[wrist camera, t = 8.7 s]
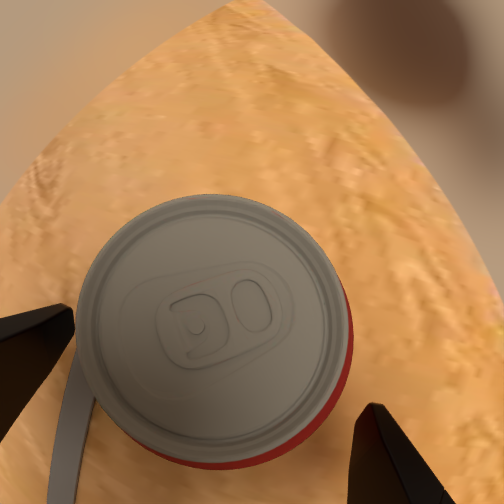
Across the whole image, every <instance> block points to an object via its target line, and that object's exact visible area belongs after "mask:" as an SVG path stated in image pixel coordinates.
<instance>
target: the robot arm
mask: <svg viewBox="0 0 504 504" xmlns="http://www.w3.org/2000/svg"><path fill="white" fill-rule="evenodd" d="M74 332H75V324H74V315H73V310H72V308H71V307H69V306H67V305H65V304H62V303H59V304H55V305H51V306H47V307H43V308H39V309H36V310H32V311H28V312H24V313H20V314H16V315H12V316H8V317H4V318H0V443H1V441H2V440H3V438H4V437H5V435H6V434H7V432H8V431H9V429H10V428H11V426H12V425H13V423H14V422H15V420H16V419H17V418H18V416H19V415H20V413H21V412H22V410H23V409H24V408H25V406H26V405H27V403H28V402H29V401H30V399H31V398H32V396H33V395H34V394H35V392H36V391H37V390H38V388H39V387H40V386H41V384H42V383H43V382H44V380H45V379H46V378H47V376H48V375H49V373H50V372H51V371H52V369H53V368H54V366H55V364H56V363H57V361H58V360H59V358H60V356H61V355H62V353H63V351H64V350H65V348H66V347H67V345H68V343H69V342H70V340H71V339H72V337H73V335H74ZM347 504H456V503H455V502H454V501H453V499H452V498H451V497H450V495H449V494H448V492H447V491H446V490H444V487H443V486H442V484H441V483H440V481H439V480H438V479H437V477H436V476H435V474H434V473H433V472H432V470H431V469H430V467H429V466H428V465H427V463H426V462H425V461H424V459H423V458H422V456H421V455H420V454H419V452H418V451H417V450H416V448H415V447H414V445H413V444H412V443H411V441H410V440H409V439H408V437H407V436H406V435H405V433H404V432H403V430H402V429H401V428H400V426H399V425H398V424H397V422H396V421H395V420H394V418H393V417H392V415H391V414H390V413H389V411H388V410H387V409H386V407H385V406H384V405H383V404H379V403H373V402H371V403H369V404H368V405H367V406H366V407H365V409H364V410H363V412H362V413H361V414H360V416H359V417H358V419H357V420H356V423H355V426H354V435H353V443H352V450H351V457H350V464H349V475H348V497H347Z"/></svg>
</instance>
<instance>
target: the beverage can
mask: <svg viewBox="0 0 504 504" xmlns="http://www.w3.org/2000/svg"><path fill="white" fill-rule="evenodd" d="M75 329H76V345H77V351H78V356H79V360H80V365H81V368H82V370H83V373H84V376H85V378H86V381H87V383H88V386H89V388H90V389H91V391H92V393H93V395H94V396H95V398H96V400H97V401H98V403H99V404H100V406H101V407H102V409H103V410H104V411H105V412H106V413H107V415H108V416H109V417H110V418H111V419H112V420H113V421H114V422H115V423H116V424H117V425H118V426H119V427H120V428H121V429H122V430H123V431H124V432H125V433H126V434H127V435H128V436H129V437H131V438H132V439H133V440H134V441H135V442H137V443H138V444H140V445H141V446H142V447H144V448H145V449H147V450H149V451H151V452H152V453H154V454H156V455H158V456H160V457H162V458H164V459H167V460H169V461H172V462H175V463H178V464H181V465H185V466H189V467H193V468H200V469H208V470H232V469H240V468H246V467H250V466H255V465H258V464H261V463H264V462H267V461H270V460H272V459H275V458H277V457H279V456H281V455H283V454H285V453H287V452H288V451H290V450H292V449H293V448H295V447H296V446H298V445H299V444H301V443H302V442H303V441H304V440H305V439H307V438H308V437H309V436H310V435H311V434H312V433H313V432H314V431H315V430H316V429H317V428H318V427H319V426H320V425H321V424H322V423H323V422H324V420H325V419H326V418H327V417H328V415H329V414H330V412H331V411H332V409H333V408H334V406H335V405H336V403H337V401H338V399H339V397H340V395H341V393H342V391H343V388H344V386H345V384H346V381H347V377H348V374H349V371H350V366H351V362H352V354H353V339H354V335H353V322H352V315H351V310H350V306H349V302H348V299H347V296H346V293H345V290H344V288H343V286H342V283H341V281H340V279H339V277H338V275H337V274H336V271H335V269H334V267H333V265H332V264H331V262H330V260H329V259H328V257H327V256H326V254H325V253H324V251H323V249H322V248H321V247H320V246H319V245H318V243H317V242H316V241H315V240H314V239H313V238H312V237H311V236H310V235H309V233H308V232H306V231H305V230H304V229H303V228H302V227H301V226H299V225H298V224H297V223H296V222H294V221H293V220H292V219H290V218H289V217H287V216H286V215H284V214H282V213H281V212H279V211H277V210H275V209H273V208H271V207H269V206H267V205H264V204H262V203H259V202H256V201H253V200H250V199H246V198H242V197H237V196H231V195H220V194H203V195H193V196H186V197H182V198H178V199H174V200H171V201H167V202H164V203H162V204H159V205H157V206H155V207H153V208H151V209H149V210H147V211H145V212H143V213H141V214H140V215H138V216H137V217H135V218H133V219H132V220H131V221H129V222H128V223H127V224H125V225H124V226H123V227H122V228H121V229H119V230H118V231H117V232H116V233H115V234H114V235H113V236H112V237H111V238H110V240H109V241H108V242H107V243H106V244H105V246H104V247H103V248H102V249H101V251H100V252H99V254H98V255H97V257H96V258H95V260H94V262H93V263H92V265H91V267H90V269H89V271H88V273H87V275H86V278H85V280H84V283H83V286H82V289H81V292H80V296H79V300H78V305H77V312H76V328H75Z"/></svg>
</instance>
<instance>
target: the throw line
mask: <svg viewBox="0 0 504 504" xmlns="http://www.w3.org/2000/svg"><path fill="white" fill-rule="evenodd" d="M94 401H95V396H94V395H93V393H92V391H91V389H90V388H89V386H88V383H87V381H86V378H85V376H84V373H83V370H82V368H81V365H80V360H79V356H78V351H77V348H76V352H75V355H74V359H73V362H72V366H71V370H70V373H69V377H68V381H67V385H66V389H65V393H64V398H63V402H62V407H61V411H60V416H59V421H58V426H57V431H56V436H55V442H54V448H53V454H52V461H51V468H50V476H49V485H48V494H47V504H75V499H76V492H77V485H78V479H79V473H80V467H81V462H82V456H83V451H84V446H85V441H86V436H87V432H88V427H89V422H90V418H91V414H92V410H93V405H94Z"/></svg>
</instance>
